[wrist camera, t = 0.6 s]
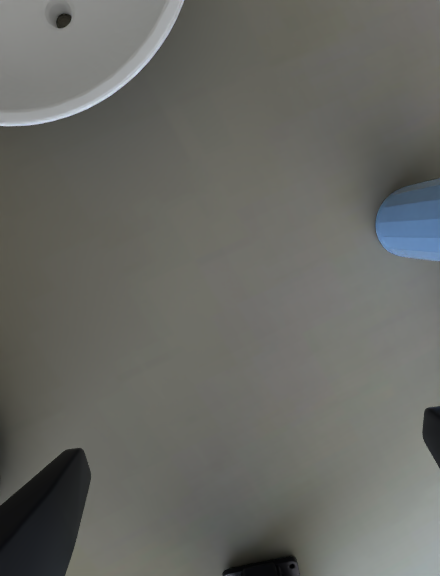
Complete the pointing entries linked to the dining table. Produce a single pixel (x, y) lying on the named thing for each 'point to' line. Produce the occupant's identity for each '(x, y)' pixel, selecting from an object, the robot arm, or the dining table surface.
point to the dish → (74, 53)
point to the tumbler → (411, 221)
